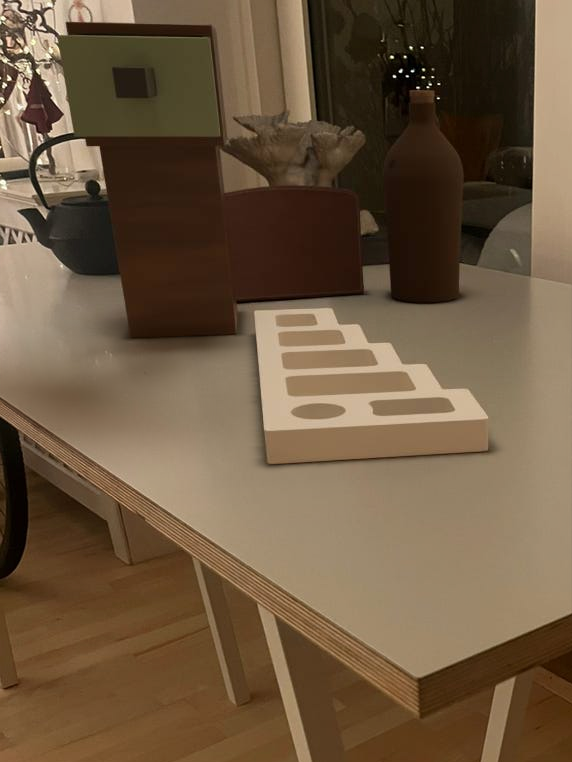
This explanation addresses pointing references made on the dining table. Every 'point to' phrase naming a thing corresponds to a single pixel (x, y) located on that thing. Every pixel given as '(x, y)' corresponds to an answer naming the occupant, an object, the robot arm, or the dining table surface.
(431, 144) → the olive oil
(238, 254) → the letter holder
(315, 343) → the holder
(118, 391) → the dining table surface
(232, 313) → the stand
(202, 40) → the drawer
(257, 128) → the coral
